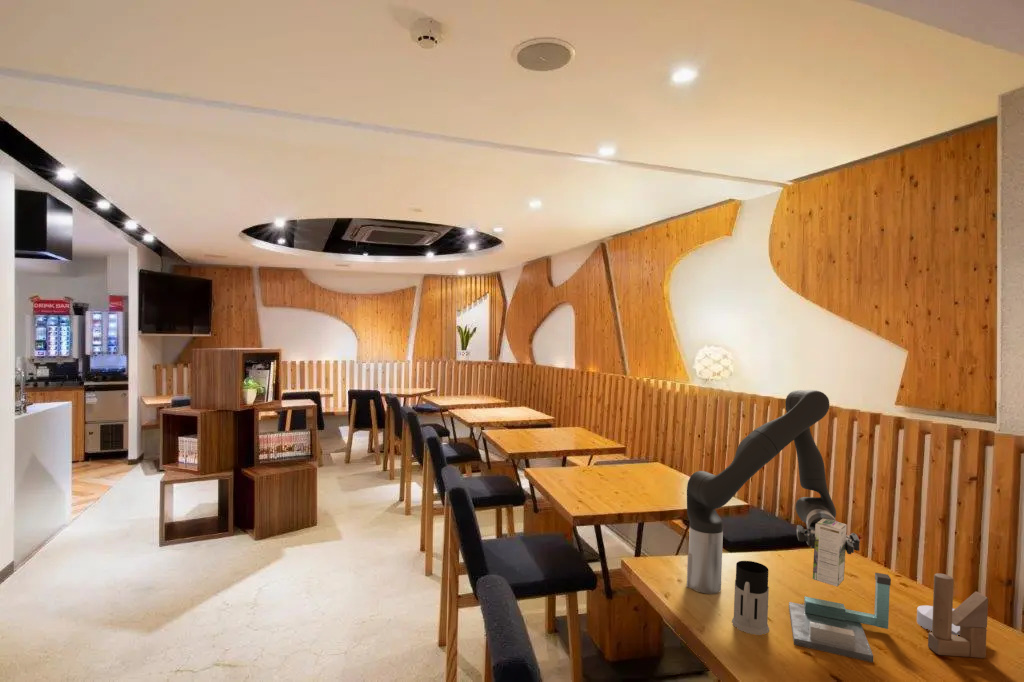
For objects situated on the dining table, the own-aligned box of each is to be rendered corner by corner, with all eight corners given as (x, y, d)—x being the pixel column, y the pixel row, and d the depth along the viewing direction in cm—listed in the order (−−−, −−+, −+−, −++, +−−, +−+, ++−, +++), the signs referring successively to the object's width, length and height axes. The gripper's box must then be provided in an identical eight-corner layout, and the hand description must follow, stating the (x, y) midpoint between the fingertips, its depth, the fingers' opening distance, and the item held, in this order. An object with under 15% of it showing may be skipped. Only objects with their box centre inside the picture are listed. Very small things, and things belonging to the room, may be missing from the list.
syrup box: (819, 572, 140) (820, 517, 140) (845, 580, 136) (847, 523, 136) (812, 579, 136) (814, 522, 136) (838, 587, 132) (840, 528, 132)
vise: (794, 644, 129) (794, 625, 129) (788, 607, 148) (789, 590, 148) (873, 662, 123) (873, 642, 123) (857, 621, 141) (858, 604, 141)
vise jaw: (805, 612, 142) (806, 564, 142) (804, 607, 145) (805, 560, 145) (889, 630, 134) (891, 579, 134) (886, 623, 137) (888, 574, 137)
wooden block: (986, 658, 126) (989, 581, 126) (938, 655, 127) (941, 579, 126) (973, 649, 130) (976, 574, 129) (927, 646, 130) (929, 572, 130)
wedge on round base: (987, 644, 132) (937, 617, 145) (988, 617, 132) (938, 592, 145) (955, 646, 131) (908, 619, 143) (956, 619, 131) (908, 593, 143)
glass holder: (771, 623, 139) (773, 565, 139) (763, 649, 127) (765, 585, 127) (735, 613, 144) (737, 556, 144) (724, 637, 132) (726, 576, 132)
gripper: (793, 508, 152) (799, 527, 137) (853, 517, 146) (866, 537, 131) (792, 535, 152) (798, 557, 137) (852, 544, 146) (864, 568, 131)
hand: (831, 547), depth 134 cm, fingers closed on syrup box, 7 cm apart
